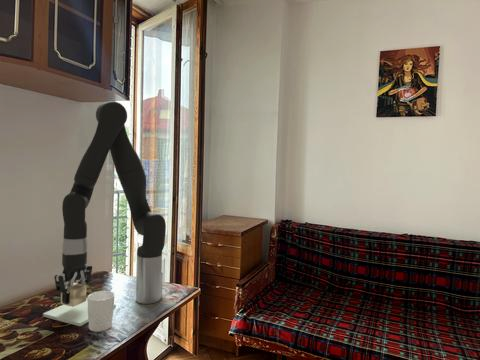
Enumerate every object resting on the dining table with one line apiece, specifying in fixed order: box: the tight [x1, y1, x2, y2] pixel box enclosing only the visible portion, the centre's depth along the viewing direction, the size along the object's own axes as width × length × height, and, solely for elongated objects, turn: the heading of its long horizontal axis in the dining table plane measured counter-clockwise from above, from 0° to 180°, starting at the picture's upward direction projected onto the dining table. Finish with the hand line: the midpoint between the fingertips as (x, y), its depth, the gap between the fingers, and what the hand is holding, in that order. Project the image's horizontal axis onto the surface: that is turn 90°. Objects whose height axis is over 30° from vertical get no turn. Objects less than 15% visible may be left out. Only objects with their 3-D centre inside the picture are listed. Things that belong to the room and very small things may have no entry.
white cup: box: [86, 290, 115, 333], centre depth 107 cm, size 8×8×10 cm
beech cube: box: [60, 282, 88, 307], centre depth 115 cm, size 6×6×6 cm
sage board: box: [42, 297, 117, 327], centre depth 118 cm, size 16×16×1 cm
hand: (73, 300), depth 115 cm, fingers closed on beech cube, 5 cm apart
